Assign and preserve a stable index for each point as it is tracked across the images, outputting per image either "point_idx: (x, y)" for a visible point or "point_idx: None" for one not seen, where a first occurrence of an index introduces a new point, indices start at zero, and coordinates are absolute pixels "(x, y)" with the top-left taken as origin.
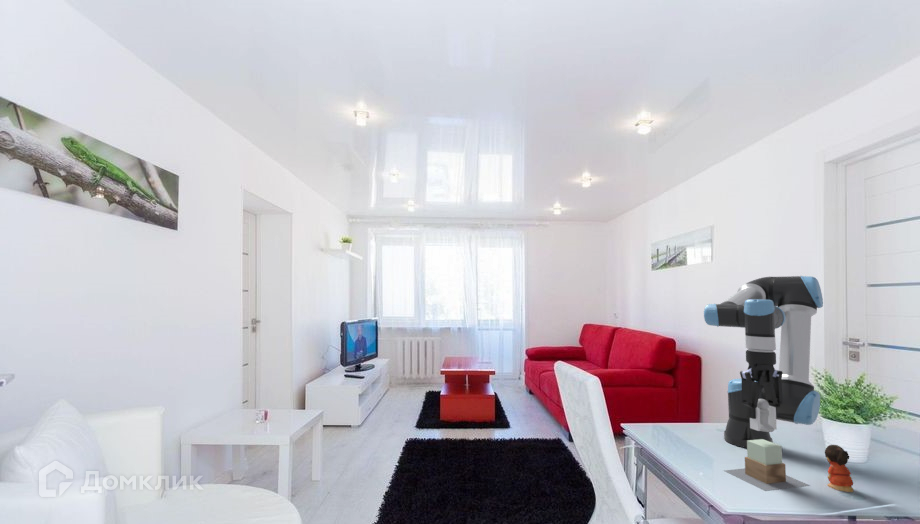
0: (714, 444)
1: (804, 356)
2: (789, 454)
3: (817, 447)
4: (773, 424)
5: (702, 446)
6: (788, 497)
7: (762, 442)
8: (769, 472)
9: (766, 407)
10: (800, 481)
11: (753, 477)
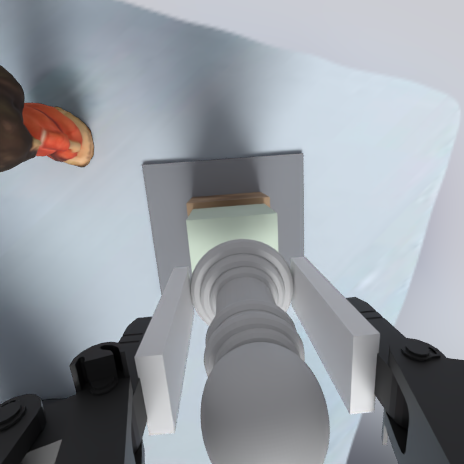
0: (175, 440)
1: None
2: (8, 365)
3: None
4: (185, 284)
5: None
6: (266, 116)
7: None
8: (253, 195)
9: (263, 347)
10: (147, 192)
11: None
